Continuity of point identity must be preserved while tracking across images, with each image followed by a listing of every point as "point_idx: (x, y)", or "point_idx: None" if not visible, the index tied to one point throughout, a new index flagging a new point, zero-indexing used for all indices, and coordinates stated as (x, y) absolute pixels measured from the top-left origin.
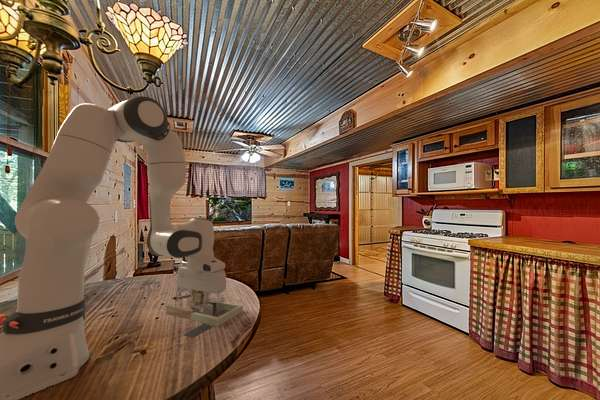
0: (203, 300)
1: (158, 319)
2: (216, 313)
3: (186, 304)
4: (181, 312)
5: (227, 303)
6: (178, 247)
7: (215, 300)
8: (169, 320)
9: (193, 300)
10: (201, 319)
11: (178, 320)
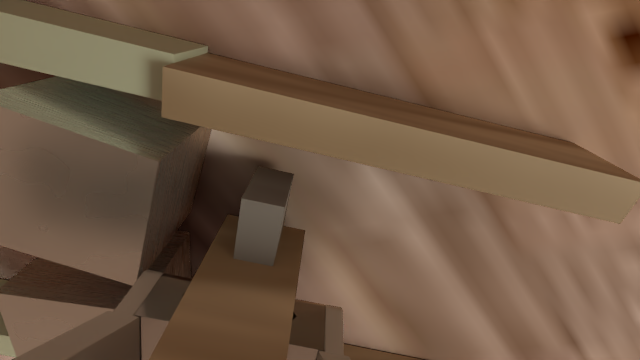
0: (137, 300)
1: (600, 4)
2: None
3: (475, 348)
4: (354, 101)
5: None
6: None
7: None
8: (451, 6)
9: (318, 315)
10: (23, 9)
11: (347, 28)
